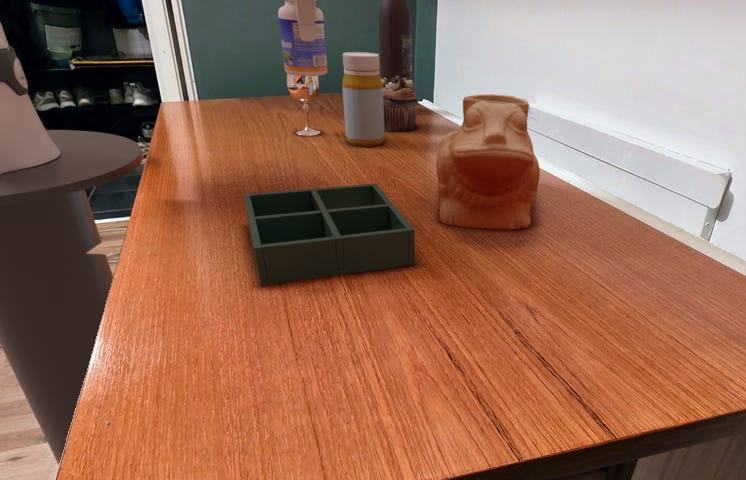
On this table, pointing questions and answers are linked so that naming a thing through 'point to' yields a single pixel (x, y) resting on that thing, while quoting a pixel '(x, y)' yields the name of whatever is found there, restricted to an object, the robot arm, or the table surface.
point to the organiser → (326, 233)
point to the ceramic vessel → (488, 166)
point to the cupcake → (399, 103)
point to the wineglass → (304, 96)
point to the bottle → (363, 99)
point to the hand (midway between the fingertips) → (303, 38)
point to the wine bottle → (395, 38)
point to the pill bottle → (302, 44)
